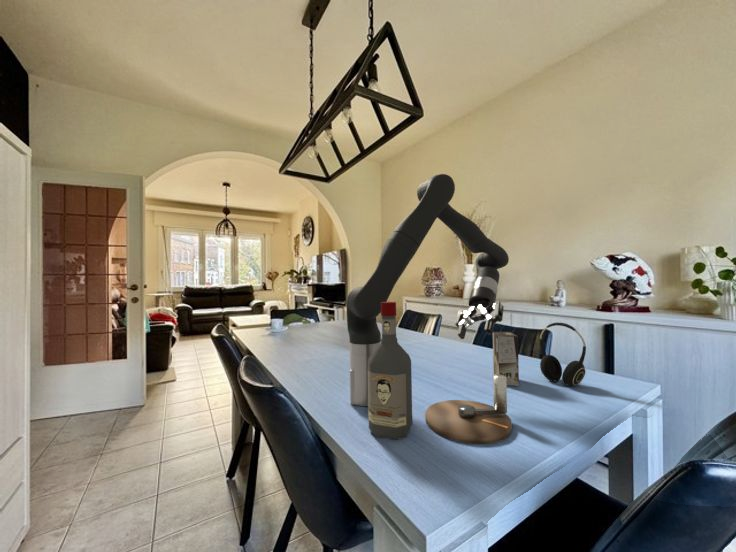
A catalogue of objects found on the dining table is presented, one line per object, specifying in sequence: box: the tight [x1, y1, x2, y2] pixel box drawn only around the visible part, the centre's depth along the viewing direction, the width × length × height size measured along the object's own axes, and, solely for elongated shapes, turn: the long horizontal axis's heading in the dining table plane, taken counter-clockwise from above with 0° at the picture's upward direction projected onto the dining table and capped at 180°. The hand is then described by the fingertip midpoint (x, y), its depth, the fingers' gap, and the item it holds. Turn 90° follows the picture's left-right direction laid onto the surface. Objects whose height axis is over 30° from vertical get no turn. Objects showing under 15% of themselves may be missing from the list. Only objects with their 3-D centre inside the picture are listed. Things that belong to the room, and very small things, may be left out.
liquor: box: [367, 301, 413, 441], centre depth 73 cm, size 9×9×30 cm
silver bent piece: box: [458, 374, 508, 418], centre depth 76 cm, size 12×4×9 cm, turn 93°
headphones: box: [539, 322, 587, 387], centre depth 102 cm, size 9×15×20 cm, turn 28°
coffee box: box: [492, 331, 520, 387], centre depth 105 cm, size 9×6×16 cm
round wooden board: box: [424, 399, 513, 445], centre depth 76 cm, size 20×20×2 cm
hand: (473, 335), depth 87 cm, fingers open, 8 cm apart
